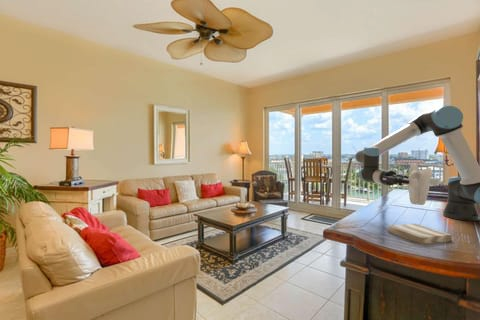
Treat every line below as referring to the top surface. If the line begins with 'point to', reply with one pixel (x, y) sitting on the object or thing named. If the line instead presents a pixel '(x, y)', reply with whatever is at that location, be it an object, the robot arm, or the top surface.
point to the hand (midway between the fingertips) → (428, 182)
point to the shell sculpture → (419, 184)
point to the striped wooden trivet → (419, 233)
